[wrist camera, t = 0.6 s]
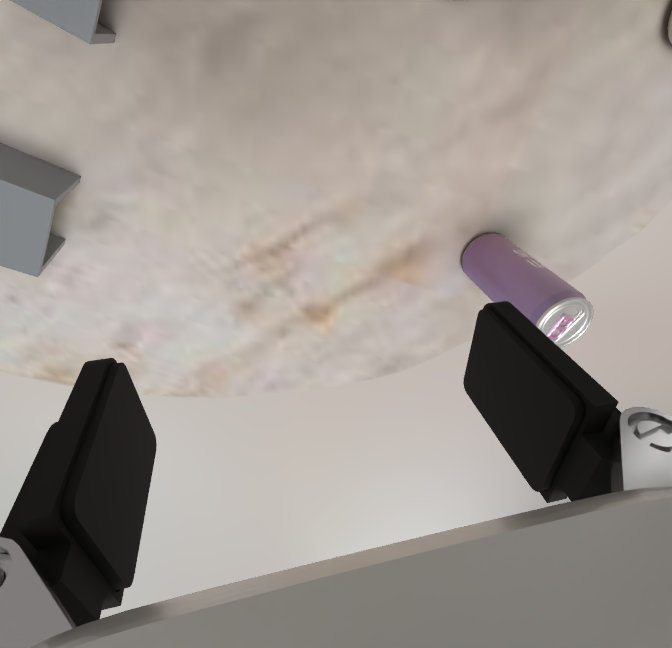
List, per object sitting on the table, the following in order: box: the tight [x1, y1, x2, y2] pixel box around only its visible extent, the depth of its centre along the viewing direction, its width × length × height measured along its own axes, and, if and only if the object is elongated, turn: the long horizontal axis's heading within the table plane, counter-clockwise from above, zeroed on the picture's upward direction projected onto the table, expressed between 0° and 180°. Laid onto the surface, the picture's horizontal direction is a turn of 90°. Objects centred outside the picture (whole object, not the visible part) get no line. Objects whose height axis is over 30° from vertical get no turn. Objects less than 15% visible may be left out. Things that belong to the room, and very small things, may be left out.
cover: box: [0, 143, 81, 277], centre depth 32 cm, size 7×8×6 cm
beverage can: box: [462, 233, 593, 348], centre depth 43 cm, size 6×6×15 cm
